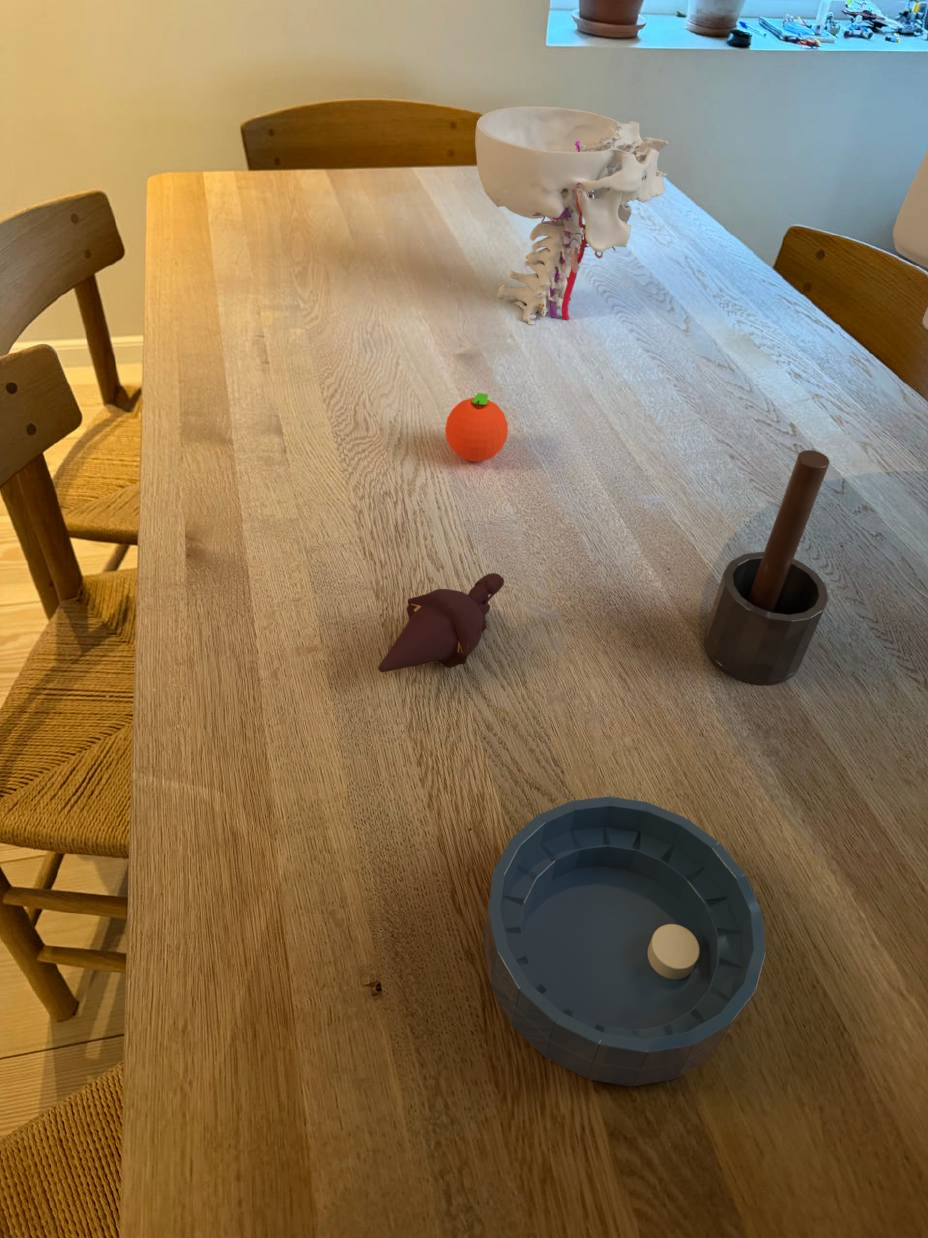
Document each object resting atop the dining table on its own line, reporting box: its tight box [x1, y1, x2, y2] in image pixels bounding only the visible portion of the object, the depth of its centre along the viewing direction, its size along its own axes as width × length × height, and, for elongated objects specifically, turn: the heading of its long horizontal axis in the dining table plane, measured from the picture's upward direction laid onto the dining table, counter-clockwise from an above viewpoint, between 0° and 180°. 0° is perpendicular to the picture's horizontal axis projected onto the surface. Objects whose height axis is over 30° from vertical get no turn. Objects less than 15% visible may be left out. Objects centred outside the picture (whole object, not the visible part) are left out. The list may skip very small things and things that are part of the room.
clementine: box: [444, 392, 509, 462], centre depth 106 cm, size 8×7×7 cm
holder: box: [703, 551, 829, 686], centre depth 85 cm, size 9×9×8 cm
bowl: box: [482, 796, 767, 1087], centre depth 63 cm, size 18×18×6 cm
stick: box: [747, 449, 830, 613], centre depth 81 cm, size 2×2×20 cm
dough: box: [648, 924, 700, 979], centre depth 64 cm, size 3×3×2 cm
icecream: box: [377, 572, 505, 673], centre depth 83 cm, size 7×7×15 cm
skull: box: [474, 105, 669, 325], centre depth 129 cm, size 25×19×23 cm
